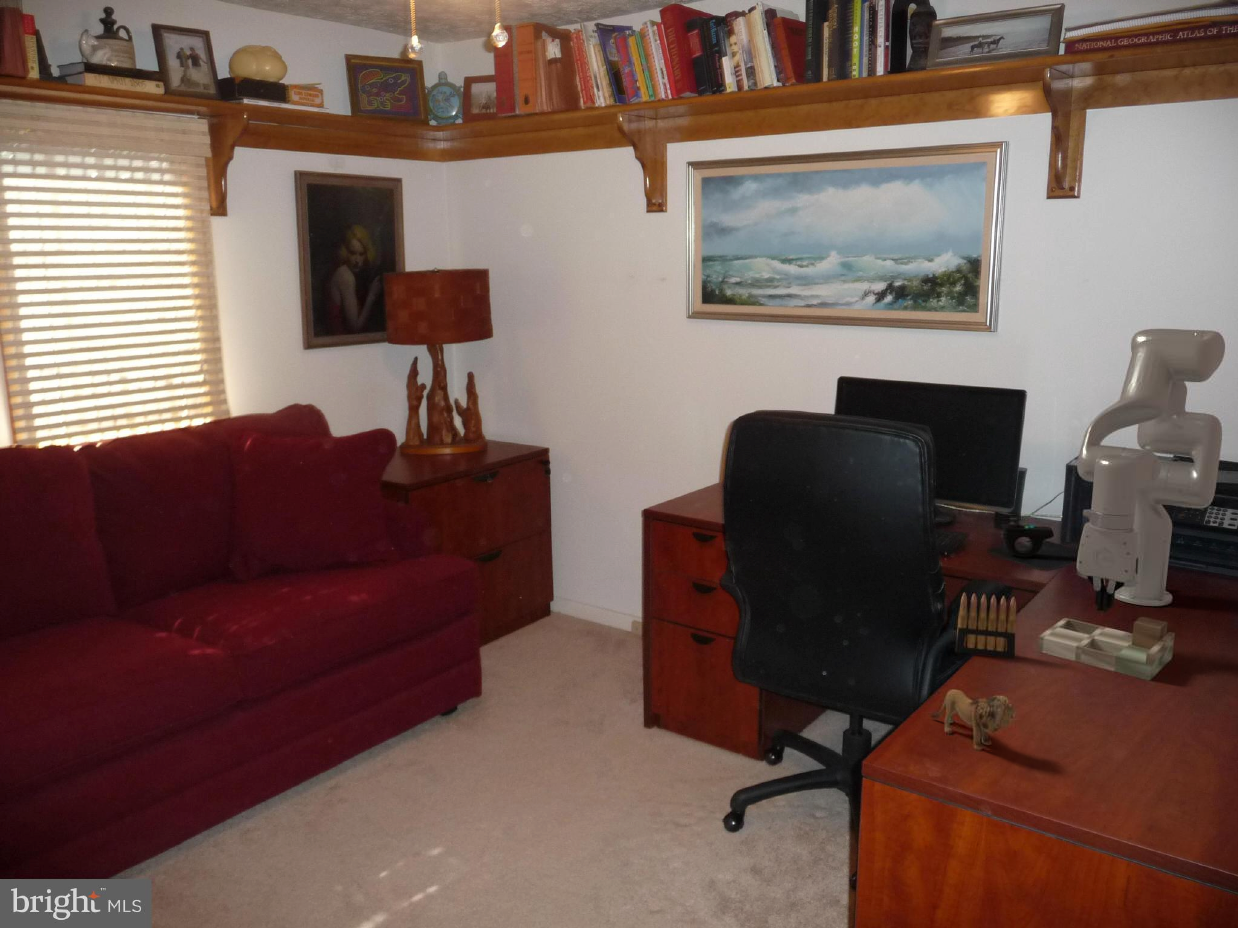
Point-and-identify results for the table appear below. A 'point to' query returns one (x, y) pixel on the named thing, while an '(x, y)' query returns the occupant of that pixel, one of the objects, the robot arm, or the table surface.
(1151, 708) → the table surface
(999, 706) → the lion figurine
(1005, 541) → the controller
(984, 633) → the ammunition clip
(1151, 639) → the walnut block
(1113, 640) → the divided compartment tray
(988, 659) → the table surface
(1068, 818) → the table surface
